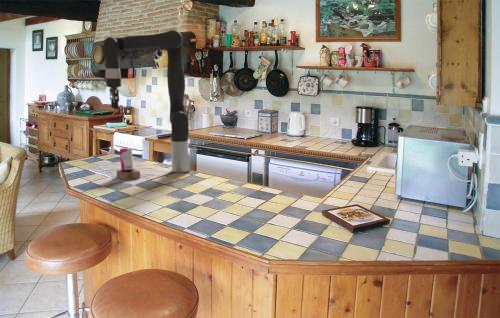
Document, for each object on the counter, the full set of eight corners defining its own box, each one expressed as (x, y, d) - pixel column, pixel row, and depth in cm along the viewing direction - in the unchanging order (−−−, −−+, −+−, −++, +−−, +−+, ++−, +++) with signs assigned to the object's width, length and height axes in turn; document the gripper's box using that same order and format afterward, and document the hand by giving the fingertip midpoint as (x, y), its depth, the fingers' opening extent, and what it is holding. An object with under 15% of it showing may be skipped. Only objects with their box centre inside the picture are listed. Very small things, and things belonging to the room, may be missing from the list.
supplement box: (133, 168, 217) (132, 147, 215) (132, 170, 211) (131, 148, 210) (122, 169, 216) (120, 148, 214) (121, 171, 210) (119, 149, 208)
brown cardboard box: (133, 175, 220) (133, 168, 219) (140, 178, 213) (139, 171, 212) (116, 177, 214) (116, 170, 214) (123, 181, 208) (122, 174, 207)
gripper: (123, 78, 207) (124, 110, 211) (118, 77, 220) (119, 107, 223) (107, 77, 204) (109, 110, 208) (103, 77, 216) (105, 107, 220)
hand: (114, 108), depth 215 cm, fingers open, 8 cm apart
